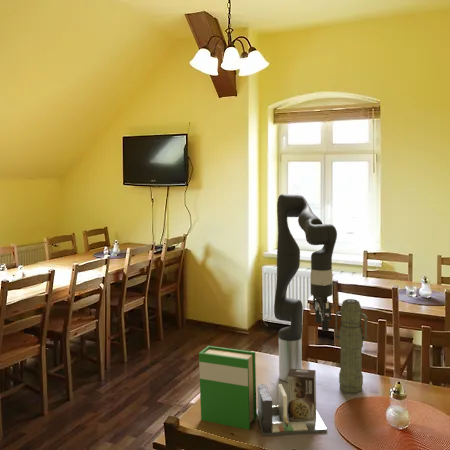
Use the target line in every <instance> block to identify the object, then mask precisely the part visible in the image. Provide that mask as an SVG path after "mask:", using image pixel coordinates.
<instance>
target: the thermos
mask: <svg viewBox="0 0 450 450" xmlns="http://www.w3.org/2000/svg"><path fill="white" fill-rule="evenodd" d="M338 316H340V321H341V323H340V327H339V331H338ZM334 317H335V321H334V322H335V325H334V326H335V327H334V329H335V330H334V331H335V332H334V333H335V334H334V335H335V338H336V339H337V340H338V341H339V342H338V344H339V345H338V346H339V348H340V370H339V373H338V383H339V390H340V391H341V392H342V393H345V394H348V395H357V394H361V393H362V392H363V385H364V376H363V372H362V371H363V370H362V364H363V363H362V361H363V360H362V349H363V347H364V342H366V340H367V339H368V316H367V315H366V313H364V312H362V306H361V303H360V301H359V300H357V299H353V298H347V299H344V300H342V303H341V306H340V311H339V310H338V311H337V312H336V313H335V315H334ZM362 318H363V319H364V321H363V322H364V324H363V325H364V327H363V328H364V331H363V329H362ZM338 333H339V334H338Z"/></svg>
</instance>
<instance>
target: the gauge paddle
mask: <svg viewBox="0 0 450 450" xmlns="http://www.w3.org/2000/svg"><path fill="white" fill-rule="evenodd" d="M277 386H278V387H277V389H278V390H277V393H278V405H279V414H280V417H281V419H282V421H286V427H288V420H287V405H288V394H287V393H286V391H285V388H284V387H283V384H282V383H279V384H277Z"/></svg>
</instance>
